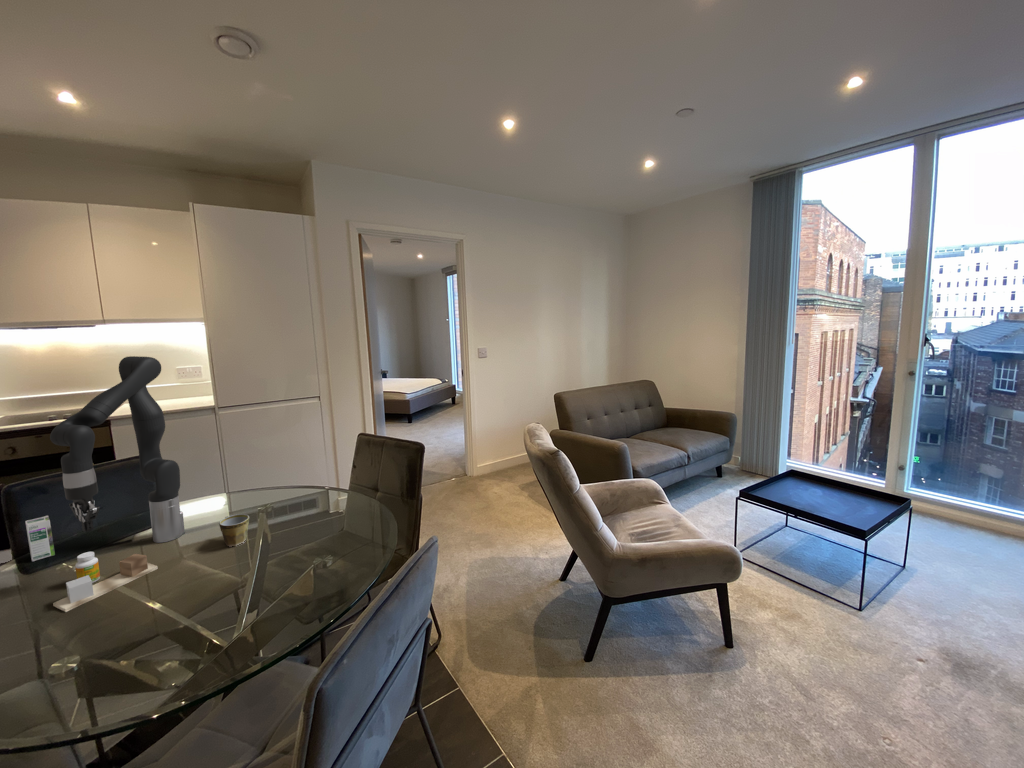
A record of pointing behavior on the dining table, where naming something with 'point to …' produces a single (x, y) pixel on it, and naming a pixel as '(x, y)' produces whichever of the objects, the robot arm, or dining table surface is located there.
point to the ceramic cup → (234, 529)
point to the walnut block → (133, 565)
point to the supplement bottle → (87, 566)
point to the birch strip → (102, 588)
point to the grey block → (79, 589)
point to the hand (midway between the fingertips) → (88, 530)
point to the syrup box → (40, 538)
